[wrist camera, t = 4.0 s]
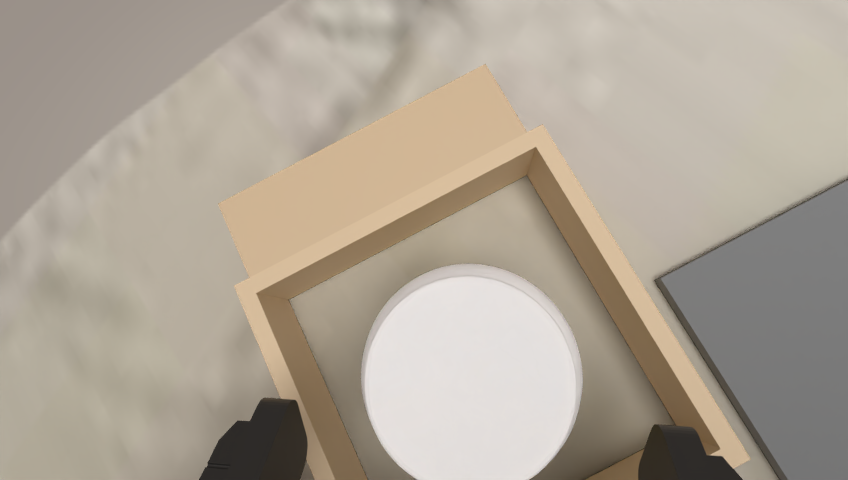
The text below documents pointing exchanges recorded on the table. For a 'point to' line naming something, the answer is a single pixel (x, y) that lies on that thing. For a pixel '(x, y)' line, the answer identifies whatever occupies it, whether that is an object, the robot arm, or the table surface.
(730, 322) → the coaster
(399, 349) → the supplement bottle
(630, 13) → the table surface
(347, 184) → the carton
